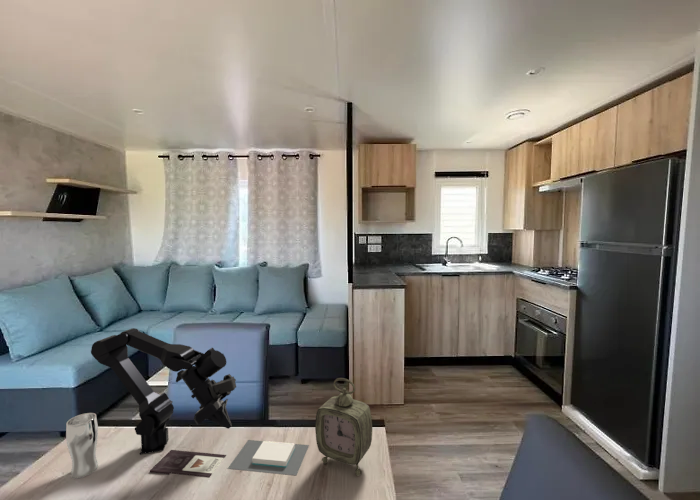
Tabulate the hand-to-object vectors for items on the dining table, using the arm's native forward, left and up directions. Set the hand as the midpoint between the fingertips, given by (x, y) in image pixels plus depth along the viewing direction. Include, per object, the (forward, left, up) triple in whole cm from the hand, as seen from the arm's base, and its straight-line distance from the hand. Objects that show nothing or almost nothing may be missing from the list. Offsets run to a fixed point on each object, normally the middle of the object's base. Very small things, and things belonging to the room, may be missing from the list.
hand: (230, 427), depth 101 cm
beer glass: (-39, +5, -8) cm, 40 cm away
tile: (+8, -4, -7) cm, 11 cm away
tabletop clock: (+32, -14, -8) cm, 36 cm away
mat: (+11, -5, -8) cm, 15 cm away
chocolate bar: (-11, -1, -9) cm, 14 cm away
